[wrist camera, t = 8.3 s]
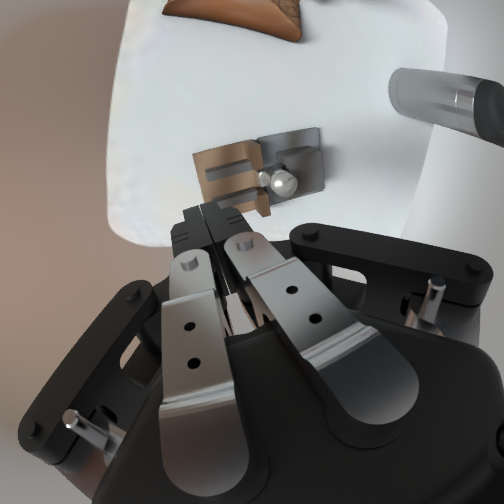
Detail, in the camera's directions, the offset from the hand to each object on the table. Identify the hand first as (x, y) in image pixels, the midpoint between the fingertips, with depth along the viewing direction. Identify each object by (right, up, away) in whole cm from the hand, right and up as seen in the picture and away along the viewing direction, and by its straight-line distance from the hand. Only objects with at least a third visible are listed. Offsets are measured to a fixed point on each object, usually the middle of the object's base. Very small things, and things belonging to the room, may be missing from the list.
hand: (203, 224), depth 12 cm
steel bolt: (+6, +10, +26) cm, 29 cm away
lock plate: (+4, +10, +27) cm, 29 cm away
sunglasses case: (0, +31, +14) cm, 34 cm away
